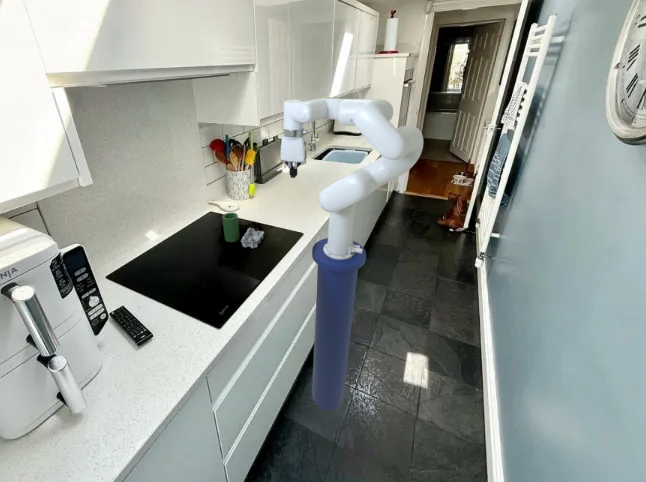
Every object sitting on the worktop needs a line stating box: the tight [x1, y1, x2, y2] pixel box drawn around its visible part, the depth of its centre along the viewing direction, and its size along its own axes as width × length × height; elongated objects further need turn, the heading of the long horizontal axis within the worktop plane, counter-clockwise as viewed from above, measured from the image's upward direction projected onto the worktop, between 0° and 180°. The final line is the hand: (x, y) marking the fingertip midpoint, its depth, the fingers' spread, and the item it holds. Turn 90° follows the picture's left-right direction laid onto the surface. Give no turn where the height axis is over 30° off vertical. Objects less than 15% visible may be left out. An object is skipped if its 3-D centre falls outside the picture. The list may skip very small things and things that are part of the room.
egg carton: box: [240, 226, 265, 249], centre depth 130 cm, size 11×8×4 cm
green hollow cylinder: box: [221, 212, 241, 243], centre depth 132 cm, size 6×6×11 cm
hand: (293, 176), depth 129 cm, fingers closed
